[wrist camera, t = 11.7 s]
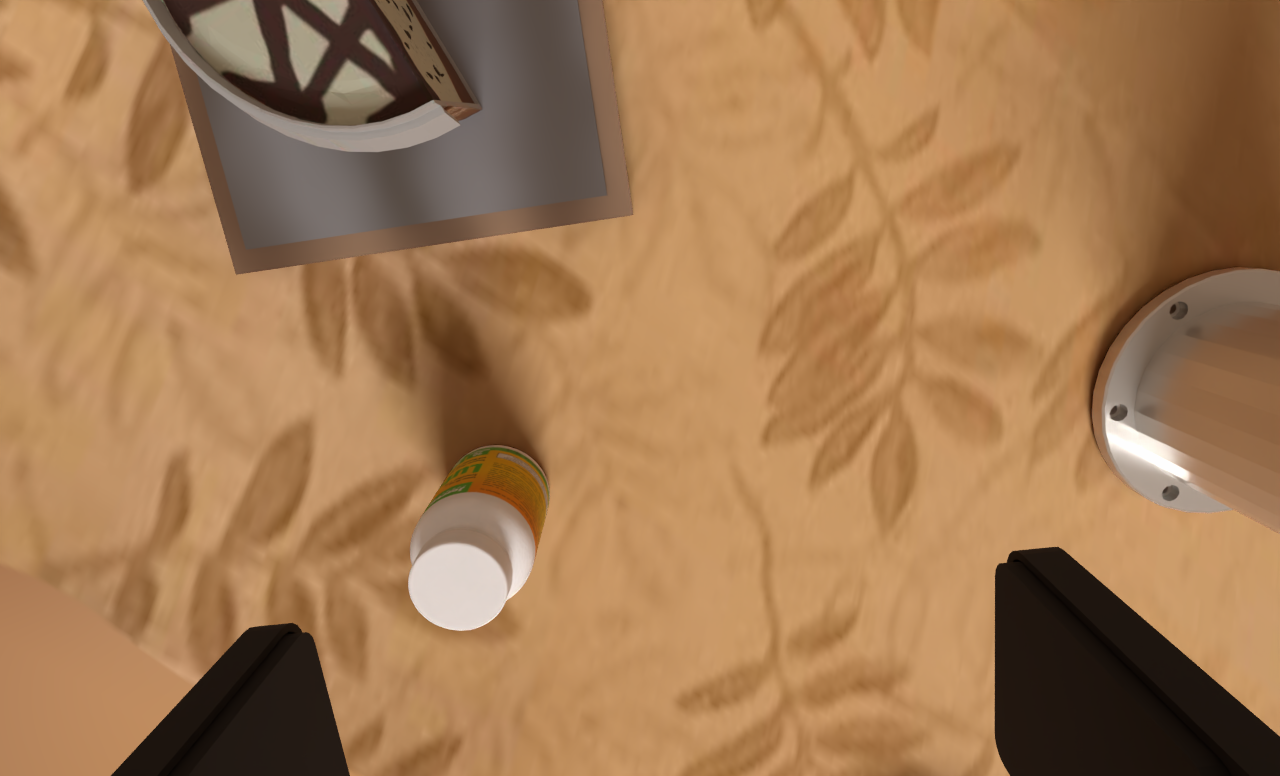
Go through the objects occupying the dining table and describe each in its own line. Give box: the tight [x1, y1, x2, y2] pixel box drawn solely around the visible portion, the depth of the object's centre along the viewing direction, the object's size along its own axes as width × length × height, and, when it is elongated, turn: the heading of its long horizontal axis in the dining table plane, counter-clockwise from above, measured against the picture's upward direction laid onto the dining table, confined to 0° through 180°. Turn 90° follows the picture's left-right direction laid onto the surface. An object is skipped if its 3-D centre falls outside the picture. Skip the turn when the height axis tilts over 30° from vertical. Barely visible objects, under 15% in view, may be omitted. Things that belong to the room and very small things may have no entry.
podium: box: [170, 0, 633, 275], centre depth 31 cm, size 18×18×3 cm
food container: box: [143, 0, 482, 152], centre depth 25 cm, size 12×6×10 cm, turn 31°
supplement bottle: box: [408, 445, 550, 630], centre depth 34 cm, size 5×5×10 cm
